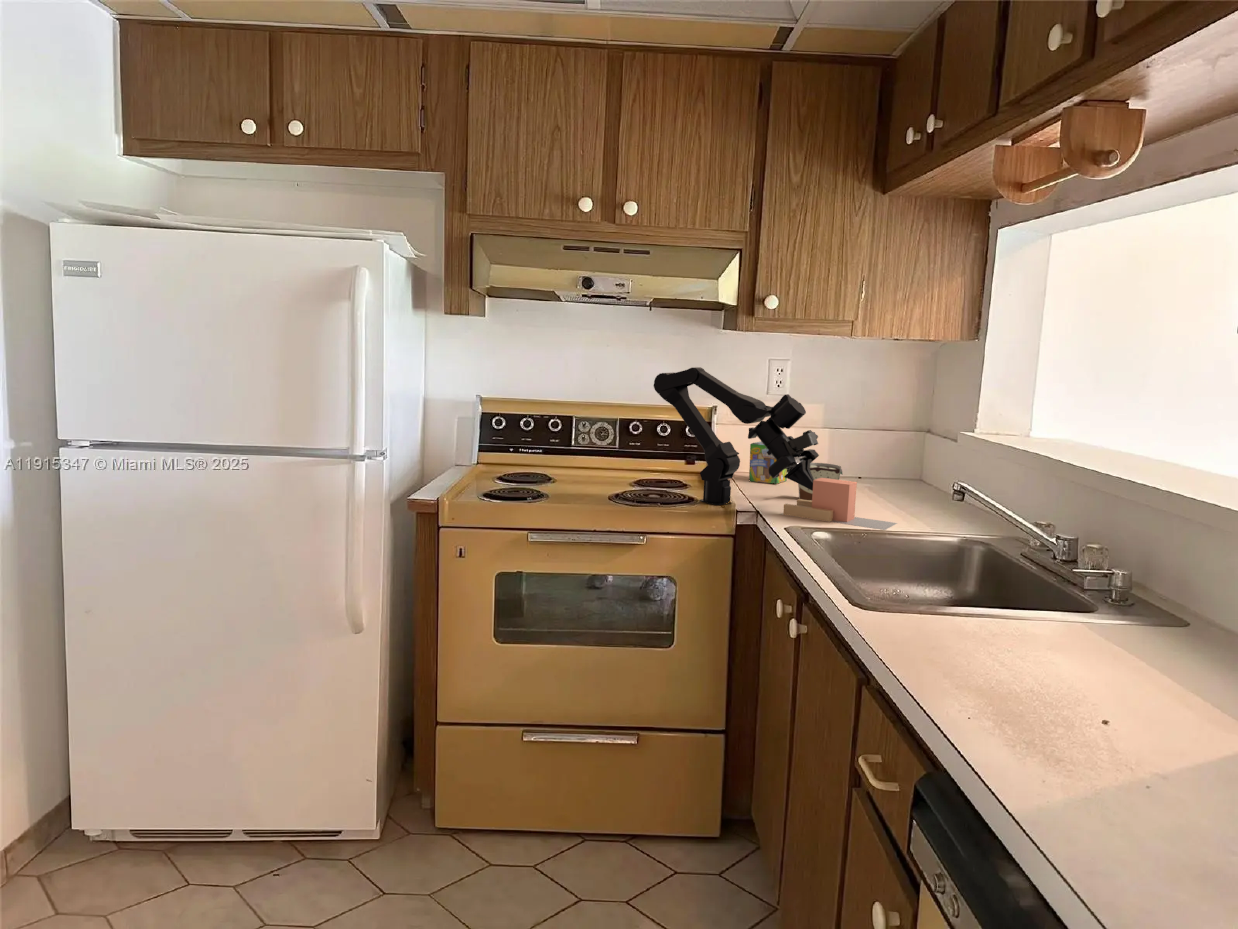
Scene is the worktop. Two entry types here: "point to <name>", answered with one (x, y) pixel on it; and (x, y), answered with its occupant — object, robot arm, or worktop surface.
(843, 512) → the block
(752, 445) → the chalk box
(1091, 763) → the worktop surface
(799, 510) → the chute
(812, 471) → the food container
